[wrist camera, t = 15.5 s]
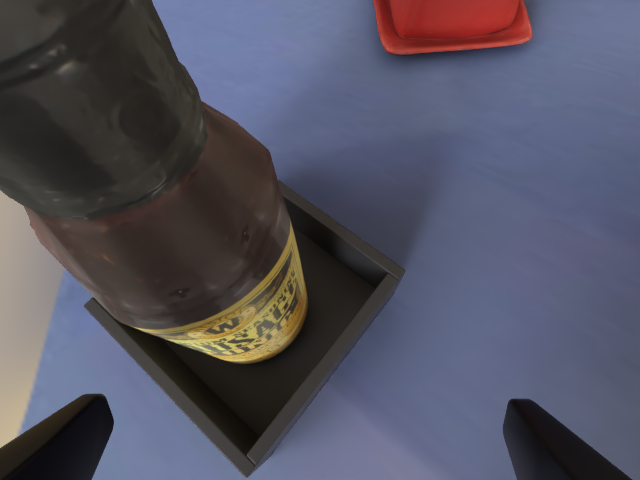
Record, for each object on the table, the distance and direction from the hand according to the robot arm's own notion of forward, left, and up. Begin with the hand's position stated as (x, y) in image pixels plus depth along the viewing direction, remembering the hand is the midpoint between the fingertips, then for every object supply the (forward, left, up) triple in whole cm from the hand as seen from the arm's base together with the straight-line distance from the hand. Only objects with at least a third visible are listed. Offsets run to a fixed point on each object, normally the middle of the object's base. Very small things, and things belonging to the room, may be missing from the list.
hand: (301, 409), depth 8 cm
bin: (+1, +6, -13) cm, 14 cm away
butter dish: (+29, +11, -13) cm, 34 cm away
